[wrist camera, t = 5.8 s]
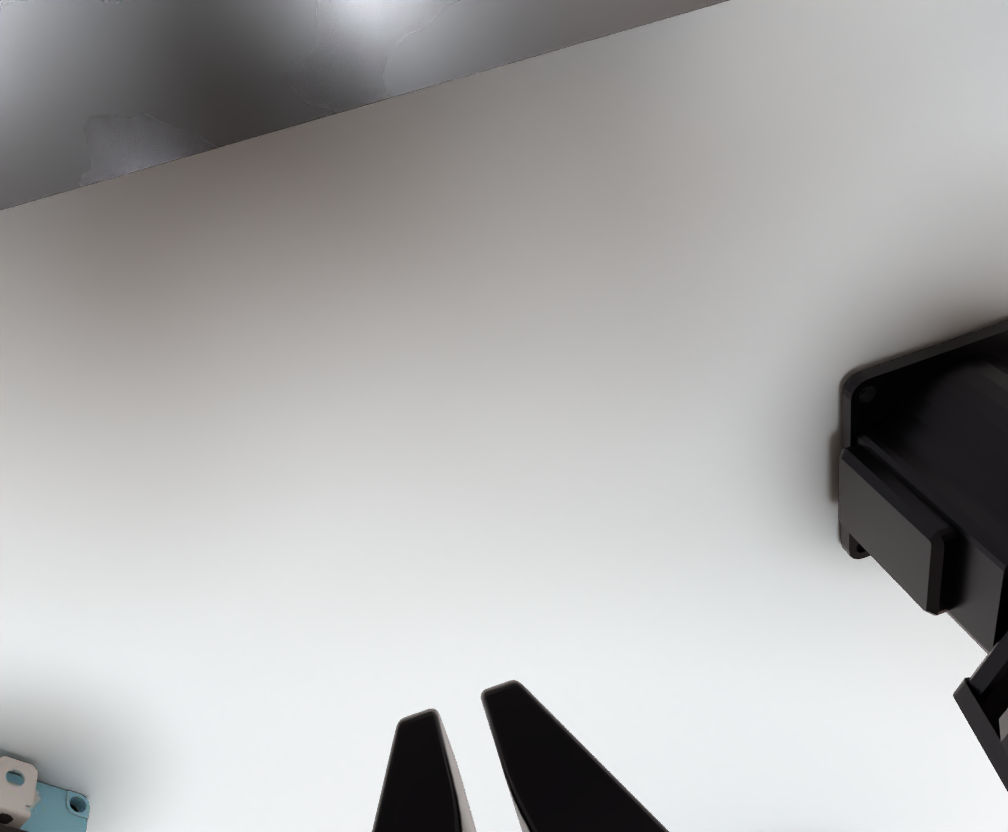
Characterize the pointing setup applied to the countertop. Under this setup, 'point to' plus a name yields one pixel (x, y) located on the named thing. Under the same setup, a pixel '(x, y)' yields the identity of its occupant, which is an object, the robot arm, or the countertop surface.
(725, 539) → the countertop surface
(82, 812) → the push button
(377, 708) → the countertop surface
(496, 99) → the countertop surface
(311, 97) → the grey lever base
